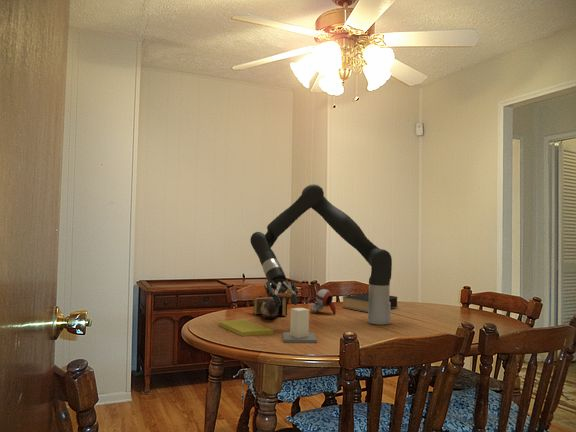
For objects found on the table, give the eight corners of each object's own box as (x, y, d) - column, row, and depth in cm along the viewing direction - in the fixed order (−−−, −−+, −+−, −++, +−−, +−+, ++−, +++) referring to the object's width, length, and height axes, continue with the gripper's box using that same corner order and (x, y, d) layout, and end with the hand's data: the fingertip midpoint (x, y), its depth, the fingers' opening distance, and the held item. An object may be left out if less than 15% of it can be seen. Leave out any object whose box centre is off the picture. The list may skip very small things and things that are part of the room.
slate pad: (313, 334, 175) (313, 332, 175) (316, 342, 163) (316, 339, 163) (282, 334, 174) (282, 331, 174) (283, 342, 162) (284, 339, 162)
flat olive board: (218, 326, 188) (245, 339, 168) (218, 321, 188) (245, 333, 168) (243, 323, 195) (272, 335, 175) (244, 318, 195) (273, 329, 175)
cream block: (301, 333, 172) (301, 307, 172) (308, 336, 168) (309, 309, 168) (290, 335, 169) (290, 308, 170) (297, 337, 165) (298, 310, 166)
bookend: (277, 294, 223) (296, 296, 201) (277, 315, 221) (296, 320, 199) (249, 294, 218) (266, 296, 195) (249, 316, 216) (266, 321, 194)
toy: (332, 324, 218) (340, 297, 215) (303, 318, 216) (310, 291, 213) (327, 310, 232) (334, 285, 229) (299, 305, 230) (306, 279, 227)
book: (397, 309, 241) (397, 296, 241) (368, 314, 225) (368, 300, 225) (371, 304, 254) (371, 292, 254) (342, 308, 238) (342, 296, 238)
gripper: (263, 266, 181) (278, 299, 171) (291, 266, 189) (306, 298, 180) (255, 277, 185) (269, 310, 175) (282, 277, 193) (297, 308, 184)
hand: (288, 304), depth 177 cm, fingers open, 8 cm apart
